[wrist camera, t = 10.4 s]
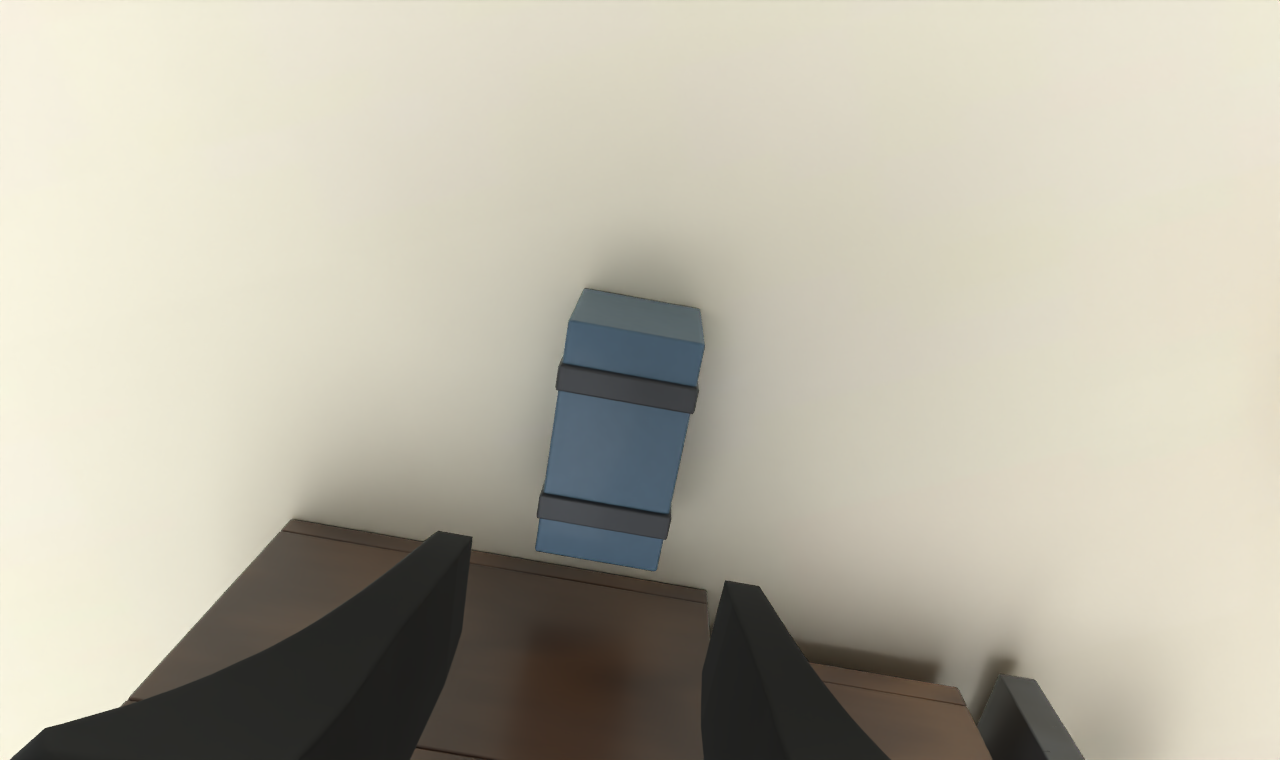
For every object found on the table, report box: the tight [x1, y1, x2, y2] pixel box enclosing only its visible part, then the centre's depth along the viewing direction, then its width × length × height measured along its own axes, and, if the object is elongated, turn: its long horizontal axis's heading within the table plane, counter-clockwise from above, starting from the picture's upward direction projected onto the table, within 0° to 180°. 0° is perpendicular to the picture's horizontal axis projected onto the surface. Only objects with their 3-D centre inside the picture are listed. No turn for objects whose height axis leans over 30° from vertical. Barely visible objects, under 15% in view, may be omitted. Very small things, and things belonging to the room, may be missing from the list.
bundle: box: [535, 289, 705, 571], centre depth 21 cm, size 6×3×3 cm, turn 170°
